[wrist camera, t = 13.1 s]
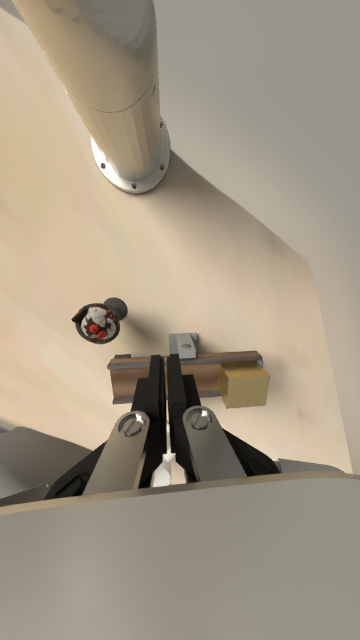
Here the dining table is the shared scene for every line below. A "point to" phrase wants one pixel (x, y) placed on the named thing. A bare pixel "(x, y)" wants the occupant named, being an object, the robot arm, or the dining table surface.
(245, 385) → the block
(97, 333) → the sundae
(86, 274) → the dining table surface
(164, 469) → the mug
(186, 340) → the pivot stand
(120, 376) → the beam
